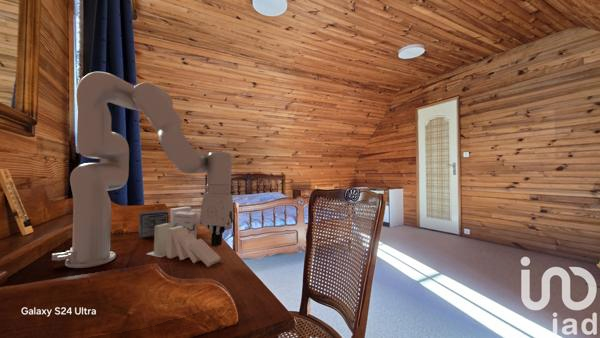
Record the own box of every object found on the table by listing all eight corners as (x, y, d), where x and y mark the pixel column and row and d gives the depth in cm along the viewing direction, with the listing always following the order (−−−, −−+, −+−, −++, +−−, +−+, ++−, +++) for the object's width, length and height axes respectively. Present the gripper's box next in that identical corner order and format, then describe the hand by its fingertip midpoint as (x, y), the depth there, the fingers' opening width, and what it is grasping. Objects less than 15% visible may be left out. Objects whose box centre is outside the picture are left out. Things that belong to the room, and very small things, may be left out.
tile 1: (207, 266, 83) (187, 246, 86) (218, 261, 87) (198, 242, 90) (210, 262, 82) (190, 242, 85) (220, 257, 87) (201, 238, 90)
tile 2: (193, 263, 85) (177, 239, 87) (204, 258, 89) (189, 235, 92) (196, 260, 84) (180, 235, 87) (207, 255, 89) (191, 232, 91)
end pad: (146, 254, 91) (146, 253, 91) (163, 248, 98) (163, 248, 98) (160, 257, 89) (160, 257, 89) (177, 251, 95) (177, 251, 95)
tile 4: (166, 257, 89) (167, 228, 89) (178, 253, 94) (179, 225, 93) (170, 258, 88) (171, 229, 88) (182, 254, 93) (183, 226, 93)
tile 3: (180, 260, 87) (171, 232, 88) (191, 255, 91) (182, 228, 93) (184, 259, 86) (175, 230, 88) (195, 254, 91) (186, 227, 92)
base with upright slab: (177, 238, 112) (178, 210, 111) (164, 234, 116) (165, 208, 116) (195, 233, 119) (195, 207, 119) (182, 230, 124) (183, 205, 124)
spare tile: (169, 250, 95) (170, 223, 95) (157, 254, 90) (158, 226, 90) (165, 249, 96) (166, 223, 96) (153, 254, 91) (154, 225, 91)
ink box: (171, 241, 106) (172, 213, 106) (178, 238, 111) (179, 211, 111) (191, 243, 105) (192, 214, 105) (197, 239, 110) (198, 212, 110)
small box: (164, 232, 120) (165, 209, 120) (168, 235, 115) (169, 211, 115) (138, 235, 113) (139, 211, 113) (140, 238, 108) (141, 214, 108)
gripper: (192, 188, 83) (190, 245, 84) (230, 192, 78) (228, 252, 78) (208, 187, 90) (206, 239, 91) (244, 190, 85) (242, 245, 85)
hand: (216, 245), depth 85 cm, fingers closed
